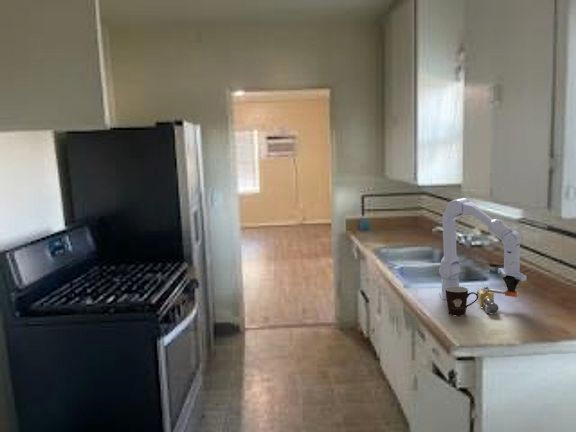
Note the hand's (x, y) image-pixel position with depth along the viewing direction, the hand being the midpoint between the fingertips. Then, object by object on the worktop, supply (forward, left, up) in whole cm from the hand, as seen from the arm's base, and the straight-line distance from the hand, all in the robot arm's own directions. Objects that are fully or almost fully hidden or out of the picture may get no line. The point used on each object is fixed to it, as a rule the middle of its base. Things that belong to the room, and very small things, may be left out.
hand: (511, 294), depth 208 cm
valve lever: (0, -5, 0) cm, 5 cm away
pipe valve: (-1, -9, -6) cm, 11 cm away
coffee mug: (+7, -21, -6) cm, 23 cm away
